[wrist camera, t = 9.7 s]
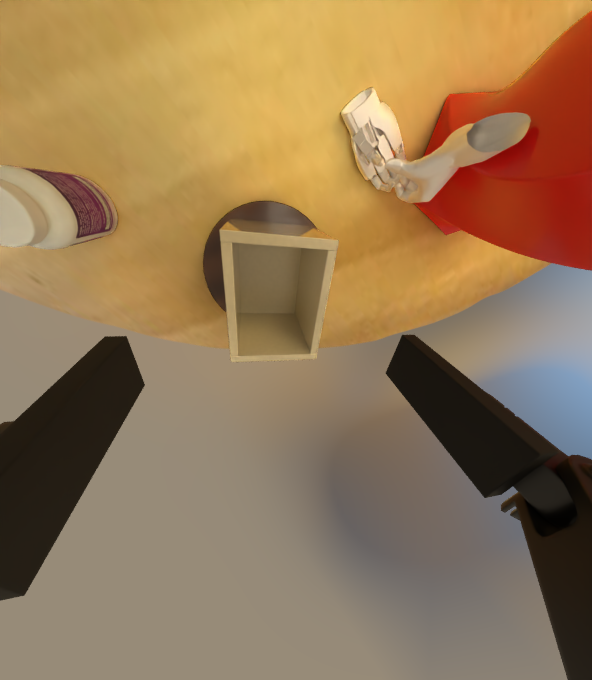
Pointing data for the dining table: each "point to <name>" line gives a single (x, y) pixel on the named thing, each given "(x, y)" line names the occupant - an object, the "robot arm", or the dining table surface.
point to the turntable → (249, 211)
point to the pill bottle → (52, 209)
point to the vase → (529, 160)
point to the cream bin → (275, 288)
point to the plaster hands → (432, 169)
